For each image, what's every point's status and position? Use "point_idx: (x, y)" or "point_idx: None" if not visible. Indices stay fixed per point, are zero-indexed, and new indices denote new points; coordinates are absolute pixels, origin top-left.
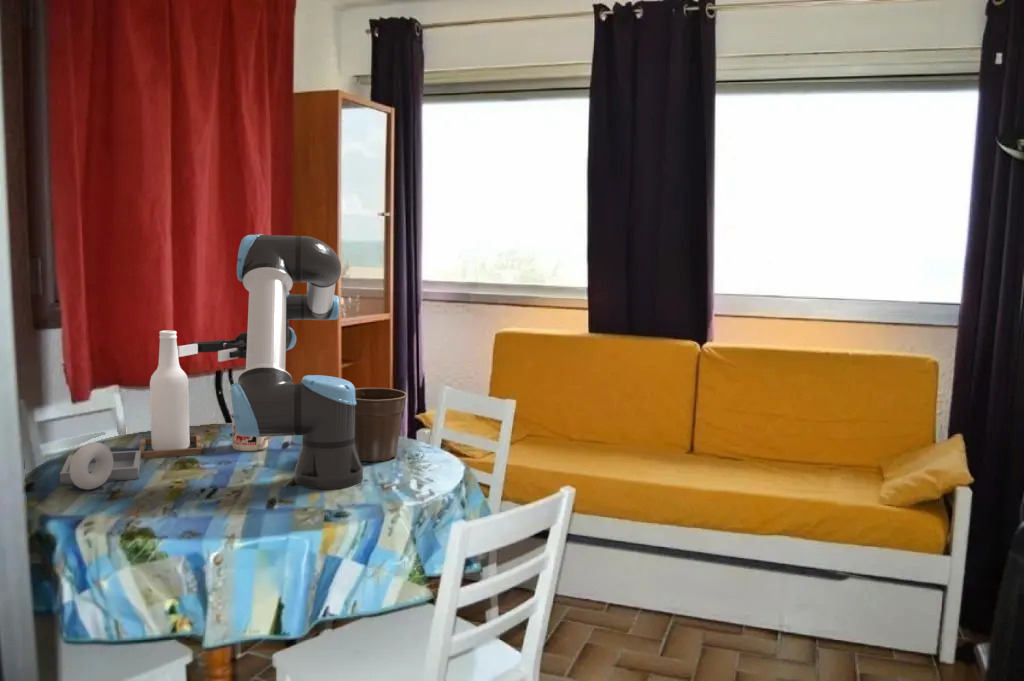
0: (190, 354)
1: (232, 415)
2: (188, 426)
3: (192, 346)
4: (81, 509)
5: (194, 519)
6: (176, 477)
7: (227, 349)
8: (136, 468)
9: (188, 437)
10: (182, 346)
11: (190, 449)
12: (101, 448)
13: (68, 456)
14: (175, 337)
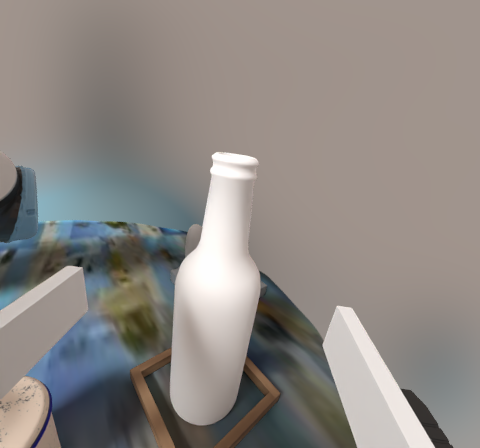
0: (353, 431)
1: (47, 389)
2: (171, 368)
3: (384, 421)
4: (173, 239)
5: (84, 235)
6: (131, 288)
7: (11, 317)
8: (171, 270)
9: (170, 382)
10: (344, 323)
11: (149, 359)
12: (188, 231)
13: (262, 282)
14: (210, 170)
